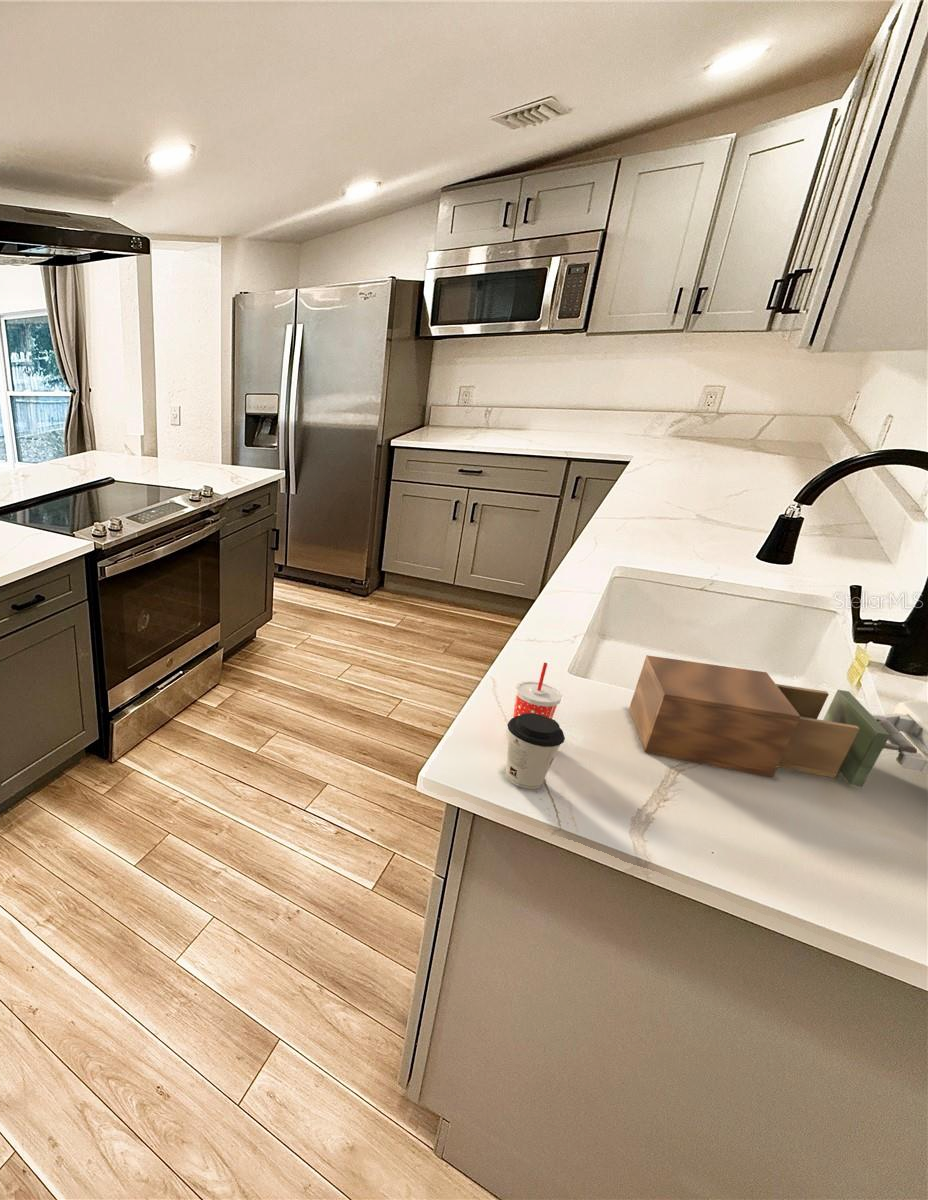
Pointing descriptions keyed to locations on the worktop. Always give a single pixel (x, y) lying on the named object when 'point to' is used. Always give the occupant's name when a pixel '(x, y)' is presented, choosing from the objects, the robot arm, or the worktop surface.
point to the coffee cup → (531, 749)
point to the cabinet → (712, 715)
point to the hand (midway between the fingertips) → (881, 738)
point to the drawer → (837, 736)
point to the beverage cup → (536, 697)
